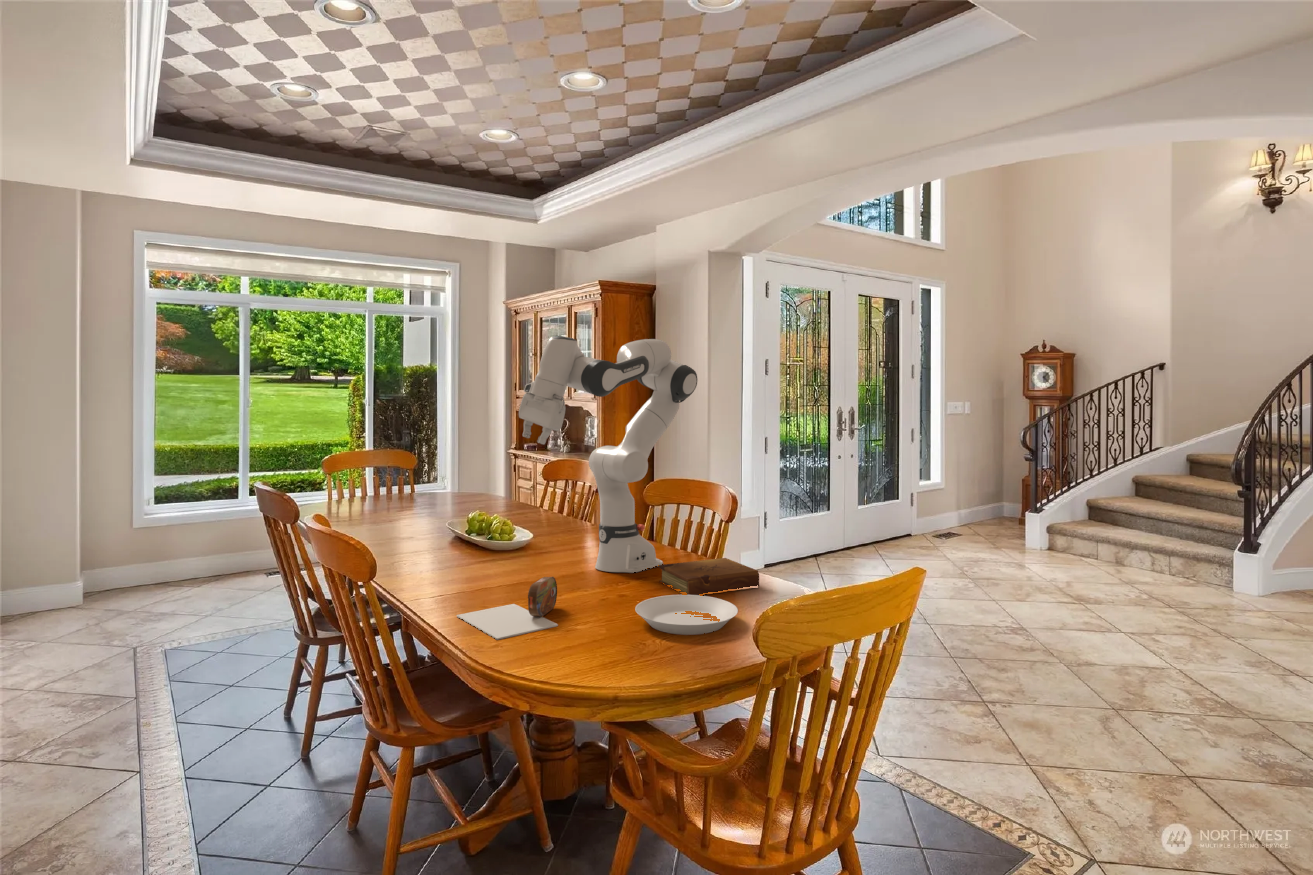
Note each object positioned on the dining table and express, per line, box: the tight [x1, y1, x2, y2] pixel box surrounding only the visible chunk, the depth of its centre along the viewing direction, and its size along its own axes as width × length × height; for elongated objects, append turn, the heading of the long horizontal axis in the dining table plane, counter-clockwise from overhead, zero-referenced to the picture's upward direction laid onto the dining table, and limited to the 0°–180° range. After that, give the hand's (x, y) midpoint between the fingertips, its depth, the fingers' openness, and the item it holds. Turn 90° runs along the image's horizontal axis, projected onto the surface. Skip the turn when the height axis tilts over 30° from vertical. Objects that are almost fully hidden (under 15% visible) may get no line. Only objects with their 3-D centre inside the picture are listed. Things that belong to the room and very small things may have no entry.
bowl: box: [634, 594, 739, 636], centre depth 175 cm, size 25×25×4 cm
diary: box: [658, 557, 760, 595], centre depth 210 cm, size 23×19×6 cm
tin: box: [527, 576, 558, 618], centre depth 182 cm, size 15×3×8 cm, turn 168°
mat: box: [455, 603, 559, 641], centre depth 176 cm, size 16×22×1 cm
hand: (533, 440), depth 198 cm, fingers open, 8 cm apart
